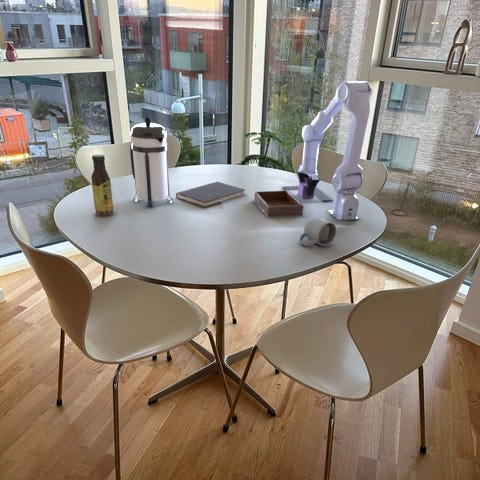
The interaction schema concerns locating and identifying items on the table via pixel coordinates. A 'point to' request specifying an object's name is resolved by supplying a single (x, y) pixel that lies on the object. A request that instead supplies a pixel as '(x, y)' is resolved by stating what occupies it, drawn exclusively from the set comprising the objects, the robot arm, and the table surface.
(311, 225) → the ceramic mug
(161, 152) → the coffee press
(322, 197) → the mat
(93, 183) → the sauce bottle
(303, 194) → the block
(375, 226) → the table surface
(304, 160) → the robot arm
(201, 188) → the hardcover book
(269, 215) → the brown wooden tray
